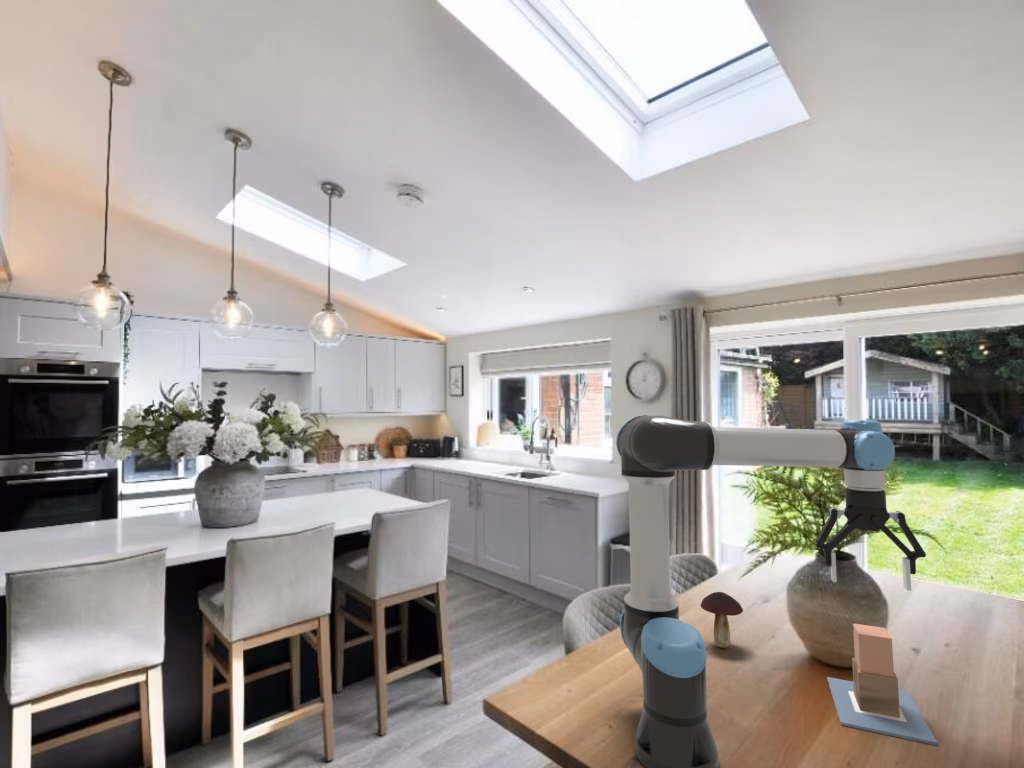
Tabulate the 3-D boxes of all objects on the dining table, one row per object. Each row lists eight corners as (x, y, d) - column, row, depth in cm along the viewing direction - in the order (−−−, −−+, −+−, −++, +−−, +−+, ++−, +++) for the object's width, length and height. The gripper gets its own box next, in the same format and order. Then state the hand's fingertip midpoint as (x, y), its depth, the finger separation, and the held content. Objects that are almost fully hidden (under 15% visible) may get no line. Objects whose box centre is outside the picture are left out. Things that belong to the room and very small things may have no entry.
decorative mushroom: (709, 635, 149) (707, 583, 150) (748, 646, 142) (746, 591, 143) (695, 648, 140) (694, 593, 141) (737, 660, 133) (735, 602, 134)
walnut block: (899, 718, 107) (897, 678, 107) (860, 710, 109) (858, 672, 110) (891, 701, 113) (889, 664, 113) (854, 694, 116) (852, 658, 116)
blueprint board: (937, 745, 99) (937, 741, 99) (840, 725, 106) (840, 721, 106) (908, 694, 117) (907, 691, 117) (827, 679, 124) (827, 676, 124)
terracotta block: (894, 677, 108) (891, 638, 108) (860, 671, 110) (858, 633, 111) (886, 664, 113) (884, 627, 114) (854, 659, 116) (853, 623, 116)
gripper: (928, 489, 112) (934, 586, 111) (800, 483, 123) (803, 572, 121) (940, 493, 106) (946, 598, 104) (803, 487, 116) (807, 582, 115)
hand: (869, 584), depth 113 cm, fingers open, 13 cm apart
